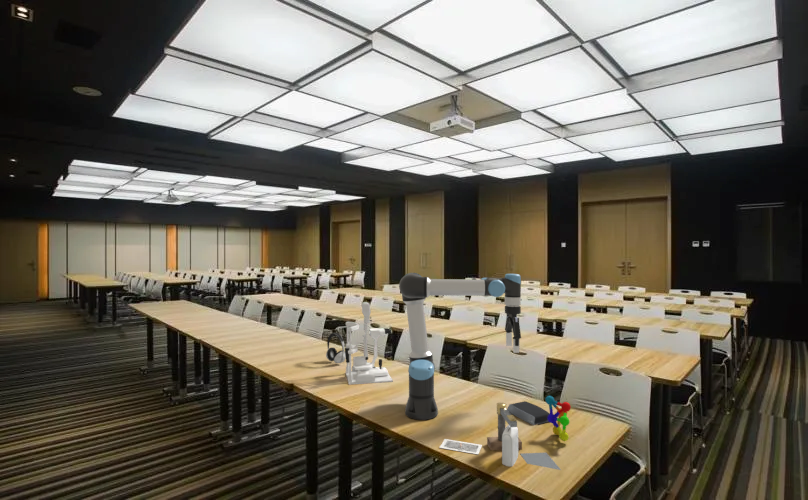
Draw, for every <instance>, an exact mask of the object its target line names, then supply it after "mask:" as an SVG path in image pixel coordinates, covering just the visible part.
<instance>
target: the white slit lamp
mask: <svg viewBox="0 0 808 500" xmlns="http://www.w3.org/2000/svg"><path fill="white" fill-rule="evenodd" d="M371 312H372V311H371V306H370V302H367V301H364V302H362V303H361V313H362V315H363V331H364V334H363V335H362V337H363V340H362V341H363V345H362V346H363V355H359V356H353V358H352V355H353V354H355V353H357V352H358V351H359V348H358V344H352V332H356V331H357V330H359V329H360V324H359V323H357V322H356V321H355V322H353V321H346V322H345V327H346V344H344V351H345V358H346V359H345V363H346V367H345V376H346V379H347V383H348V385H349V386H350V385H362V384H363V385H364V384H378V383H379V384H381V383H391V382H394V381H393V378H392V377H391V375H390V374H389V372H388V369H387V368H386V367H383V359H381V358H379V359H378V366H375V364H376V363H375V362H376V360H377V358H378V340H379V338H380V336H383V337H384V336H386V335H387V334H392V330H391V329H390V328H383V327H382V328H379V327H375V328H369V326H368V325H369V324H370V323H371V322H372V321H373V320H372V317H371ZM367 333H368V334H367ZM368 335H369V338H372V339H373V349H374V351H373V357H372V360H371V362H368V360H369V351H368ZM352 361H353V362H352Z"/></svg>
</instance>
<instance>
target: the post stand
mask: <svg viewBox="0 0 808 500" xmlns="http://www.w3.org/2000/svg"><path fill="white" fill-rule="evenodd" d="M505 428H506V420H505V419H504V418H503V416H502V415H498V414H497V436H487V437H486V442H487V443H486V444H487V446H488V449H489V450H490V451H502V435H503V432H504V430H505ZM518 450H523V441H522V440H521V439H520V438H519V437H518Z"/></svg>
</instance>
